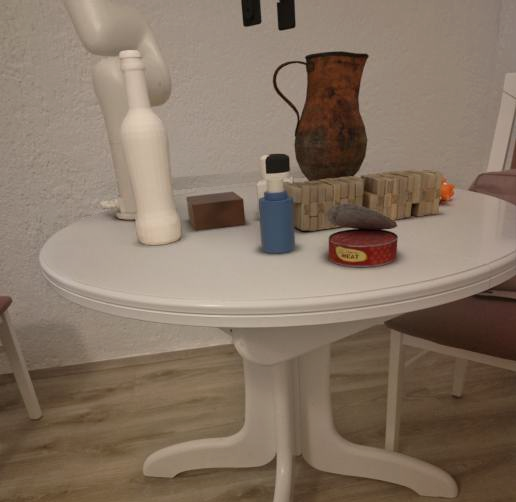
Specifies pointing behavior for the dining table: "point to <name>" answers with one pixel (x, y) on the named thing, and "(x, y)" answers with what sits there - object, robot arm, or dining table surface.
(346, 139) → the pitcher
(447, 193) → the orange toy bird
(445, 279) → the dining table surface
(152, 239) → the bottle
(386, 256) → the canned food
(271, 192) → the blue bottle
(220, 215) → the walnut block
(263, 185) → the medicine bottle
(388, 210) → the block tower
